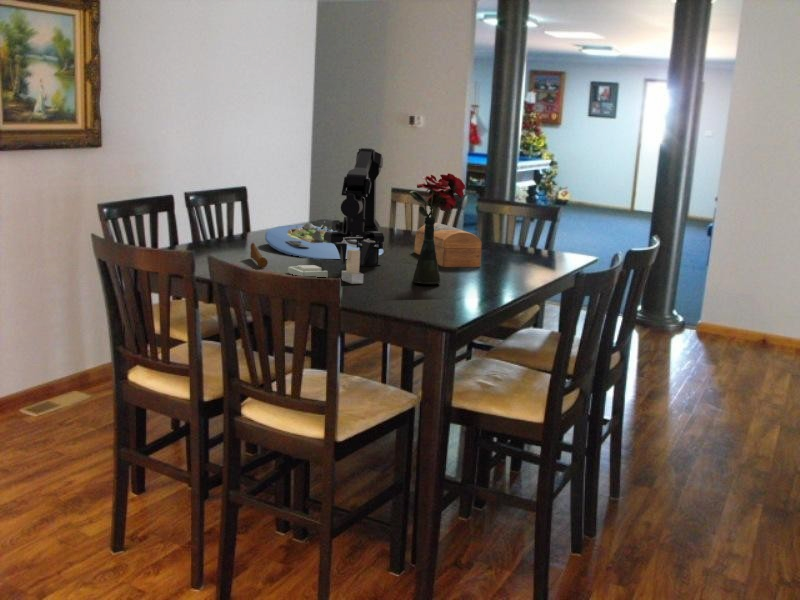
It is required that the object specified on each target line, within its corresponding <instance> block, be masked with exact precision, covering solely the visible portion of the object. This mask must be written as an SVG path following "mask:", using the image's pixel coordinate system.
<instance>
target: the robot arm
mask: <svg viewBox="0 0 800 600" xmlns="http://www.w3.org/2000/svg"><path fill="white" fill-rule="evenodd" d="M355 157H356V158H355V164H354V168H352V169H350V170H348V172H347V174H346V176H344V179H343V183H342V189H341V196H343V197H345V196H346V198H345V199H344V200H342V202H341V204H340V211H341V213H342V214H343V215H344V216H343V221H340V220H339V219H337V220H332V224H331V230H333V231H337V232H325V234H324V241H328V242H331V243H332V244H334V245H335V246H336V248H337V250H338V253H339V256H340V259H341V260H340V262H341V265H346V261H347V260H346V250H347V244H346V243H345V240H357V248H358V247H359V251H360V264H359V266H363V267H381V264H380V263H379V258H380V255H379V249H383V250H384V242H385V234H384V233H383V232H381V225H380V223H379V222H378V220H377V218H376V213H377V211H376V209H377V208H376V207H377V206H376V205H377V204H376V203H377V202H376V201H377V178H378V177H379V175H380V173H381V171H382V169H383V164H384V158H383V155H382V153H380V152H377V151H376V150H375V149H373V148H369V147H368V148H367V147H366V148H365V147H361V148H359V149H358V152H356V156H355Z"/></svg>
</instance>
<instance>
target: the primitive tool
mask: <svg viewBox="0 0 800 600" xmlns="http://www.w3.org/2000/svg"><path fill="white" fill-rule="evenodd" d="M250 258H251V259H253V260H254V261H255V262H256V264H257V266H258V267H259V268H262V269H265V268H266V267H267V266H268V263H269V262H268V259H267V258H266V257H263V255H262V254H261V253H260V252H259V249H258V248H257V246H256V244H255V243H254V242H251V244H250Z"/></svg>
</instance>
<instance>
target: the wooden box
mask: <svg viewBox="0 0 800 600" xmlns="http://www.w3.org/2000/svg"><path fill="white" fill-rule="evenodd" d="M424 230H425V224H423V225H422V226H421V227H419V228H418V229H417V230H416V232H415V238H414V247H413V248H414V249H413V253H415V254H417V255H418V256H419V255H420V252H421V249H422V245H423V240H424V234H425V231H424ZM434 244H435V251H436V259H437V264H438V266H440V267H443V268H465V267H466V268H471V267H472V268H473V267H474V268H475V267H477V268H478V267H479V268H480V267H481V263H482V252H483V249H482V247H483V246H482V245H483V242H482V240H481V239H480V238H479V237H478V236H477V235H475V234H474V233H471V232H468V231H465V230H462V229H460V228H457V227H454V226H451V225H446V224H444V223H439V222H435V224H434Z"/></svg>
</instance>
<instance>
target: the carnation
mask: <svg viewBox="0 0 800 600" xmlns="http://www.w3.org/2000/svg"><path fill="white" fill-rule="evenodd" d="M439 176H440V179H438V180H437V178H436V176H435V175H434V174H430V176H429V175H425V176H422V178H421V179H422V180H425V182H426V183H425V182H424V181H422V182H421V183H417V185H416V188H417V189H421V188H424V189H426V192H428V195H429V197H428V199H425V197H424V196H423V195H422V194H421V193H419V192H418V191H416V190H411V191H409V193H408V194H409V195H410V196H411V197H412V199H413V200H415V201H417V202H418V203H421V204H423V205H424V207H423V206H419V208H418V213H419V214H420V215H422V216H423V217H424V222H423V223H424V225H425V230H424V231H425V234H424V240H423V245H422V249H421V252H420V255H419V254H418V256H419V257H418V259H417V263H416V266H415V267H416V268H415V270H414V273H413V278H412V282H413V284H416V283H417V284H418V283H419V284H420V285H435V286H436V285H437V284H440V283H441V277H440V272H439V265H438V264H437V259H436V251H435V244H434V224H435V223H436V222H435V221H436V220H435V219H436V217H434V215H435V213H436V211H437V209H438V207H439V210H440V211H443V212H446V211H447V212H448V211H452V209H454V207H455V206H456V204H457V198H456V197H455V195H454V194H456V196H458V198H459V199H462V198H463V197H464V190H465V189H466V184H465V183H464V181H463V180H462V179H461V178H460V177H457V176H455V175H454V174H452V173H446V174H439ZM426 205H427V206H429V210H430V211H429V213H428V210H427V207H426ZM434 208H435V209H434ZM430 216H431V217H430Z"/></svg>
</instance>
